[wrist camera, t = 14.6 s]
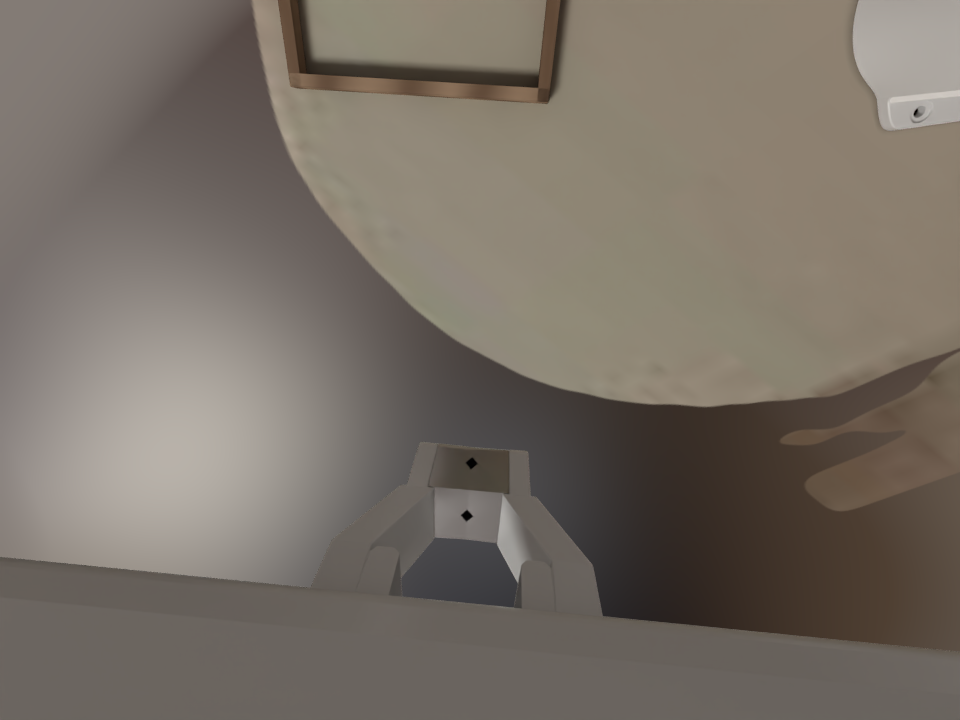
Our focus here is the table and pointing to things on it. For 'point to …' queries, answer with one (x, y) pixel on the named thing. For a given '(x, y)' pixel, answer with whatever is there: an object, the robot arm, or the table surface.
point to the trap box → (412, 87)
